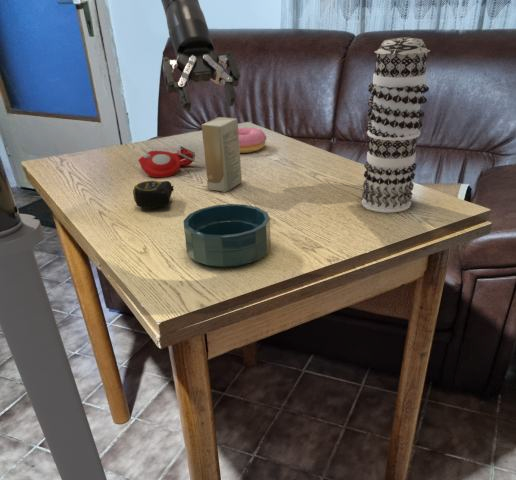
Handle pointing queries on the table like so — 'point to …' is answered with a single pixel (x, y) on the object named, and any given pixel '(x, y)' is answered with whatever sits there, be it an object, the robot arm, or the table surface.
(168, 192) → the tape measure
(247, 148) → the doughnut
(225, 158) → the cosmetic box
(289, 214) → the table surface
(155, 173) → the tracker holder
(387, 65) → the white patterned cylinder
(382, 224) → the table surface
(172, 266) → the table surface
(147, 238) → the table surface
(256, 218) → the bowl
